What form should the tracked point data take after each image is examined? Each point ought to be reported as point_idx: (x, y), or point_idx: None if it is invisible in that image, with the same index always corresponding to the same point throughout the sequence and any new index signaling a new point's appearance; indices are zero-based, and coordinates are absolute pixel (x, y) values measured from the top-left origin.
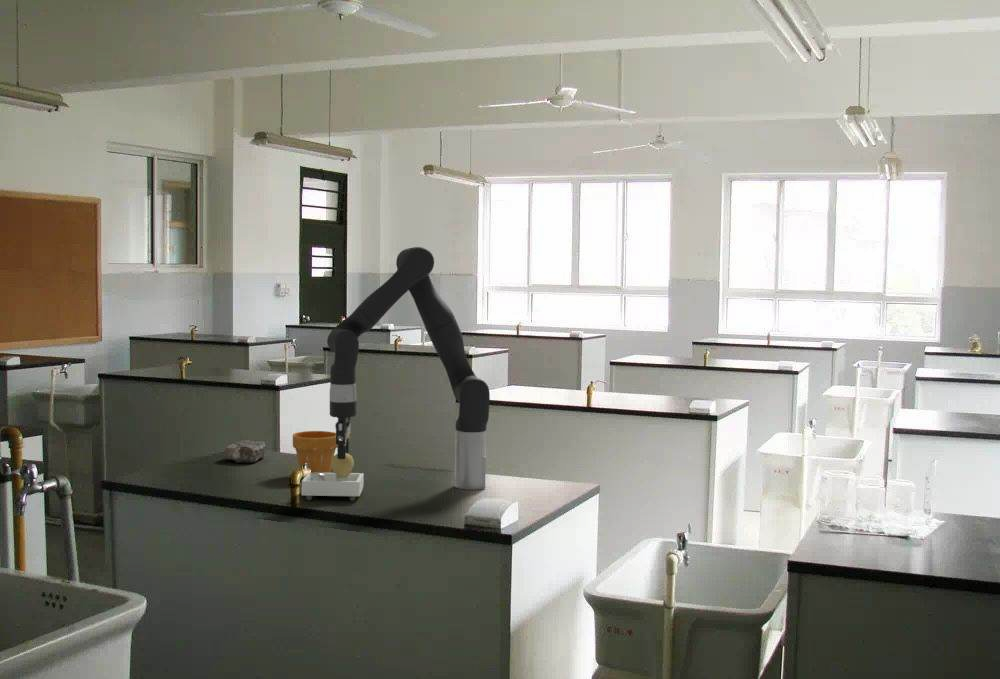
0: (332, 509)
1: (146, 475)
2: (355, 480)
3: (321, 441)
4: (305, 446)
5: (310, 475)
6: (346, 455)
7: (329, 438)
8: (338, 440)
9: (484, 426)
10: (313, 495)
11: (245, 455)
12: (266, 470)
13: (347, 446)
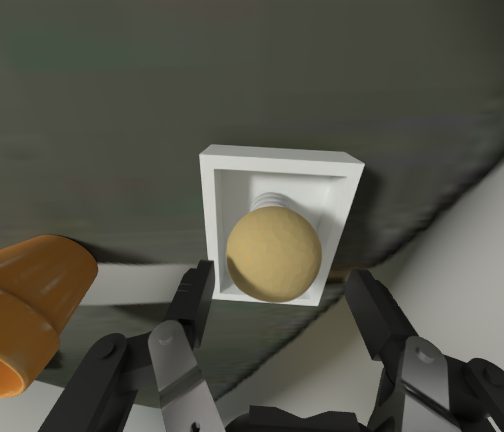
0: (408, 211)
1: (157, 403)
2: (218, 176)
3: (5, 339)
4: (52, 349)
5: None
6: (302, 268)
7: None
8: (480, 420)
9: None
10: None
11: None
12: (66, 324)
13: (205, 290)
